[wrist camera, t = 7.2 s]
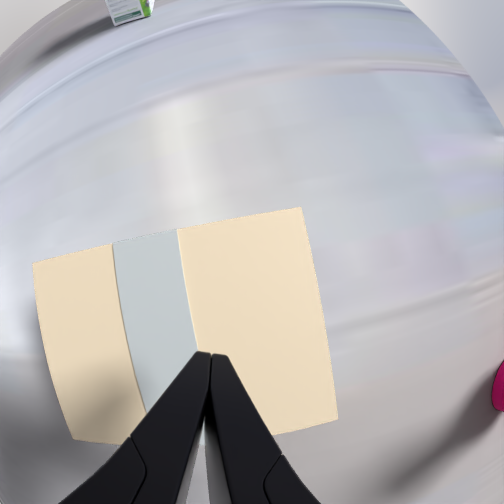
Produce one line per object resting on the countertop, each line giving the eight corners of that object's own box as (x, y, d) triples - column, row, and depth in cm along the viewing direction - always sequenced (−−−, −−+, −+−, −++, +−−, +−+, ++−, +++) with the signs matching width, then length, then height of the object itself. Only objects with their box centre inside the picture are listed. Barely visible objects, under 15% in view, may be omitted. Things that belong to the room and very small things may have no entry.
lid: (333, 413, 12) (338, 420, 11) (79, 434, 12) (72, 440, 11) (298, 211, 13) (301, 206, 12) (40, 264, 13) (31, 262, 12)
